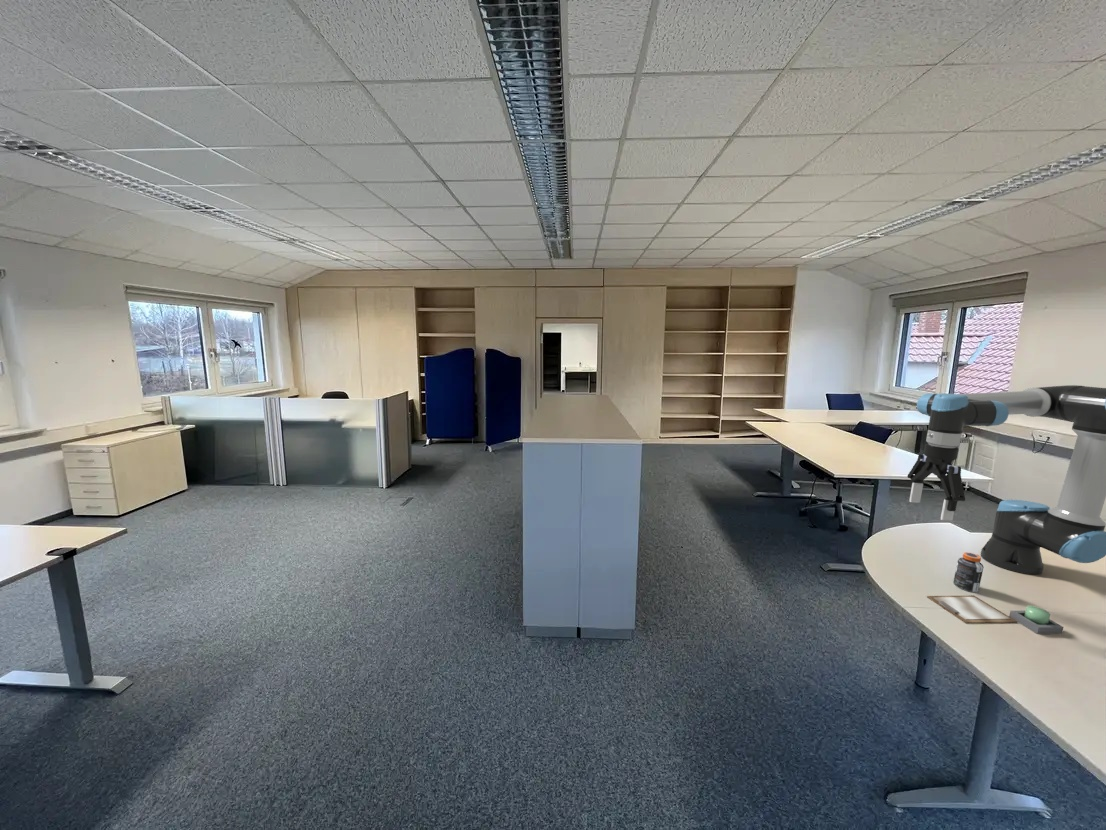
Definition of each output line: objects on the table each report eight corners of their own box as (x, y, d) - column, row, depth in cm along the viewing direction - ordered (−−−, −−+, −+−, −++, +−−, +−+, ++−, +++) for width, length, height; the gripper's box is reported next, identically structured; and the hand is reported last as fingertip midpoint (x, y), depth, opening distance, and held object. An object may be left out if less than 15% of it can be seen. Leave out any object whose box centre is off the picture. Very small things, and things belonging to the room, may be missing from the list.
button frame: (1032, 616, 121) (1033, 610, 120) (1061, 633, 114) (1063, 627, 113) (1008, 616, 120) (1010, 610, 120) (1037, 633, 114) (1038, 627, 113)
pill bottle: (983, 593, 131) (991, 560, 129) (961, 591, 132) (968, 558, 130) (969, 582, 137) (976, 551, 135) (948, 580, 138) (954, 549, 136)
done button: (1034, 614, 119) (1036, 605, 118) (1052, 625, 115) (1055, 615, 114) (1019, 615, 119) (1021, 605, 118) (1037, 625, 115) (1040, 616, 114)
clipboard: (973, 596, 130) (974, 593, 130) (1016, 622, 118) (1017, 619, 118) (926, 597, 129) (927, 594, 129) (965, 623, 117) (966, 620, 117)
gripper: (900, 434, 139) (890, 494, 143) (960, 455, 114) (946, 527, 118) (926, 435, 137) (915, 496, 141) (992, 457, 113) (976, 529, 117)
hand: (929, 510), depth 130 cm, fingers open, 13 cm apart
